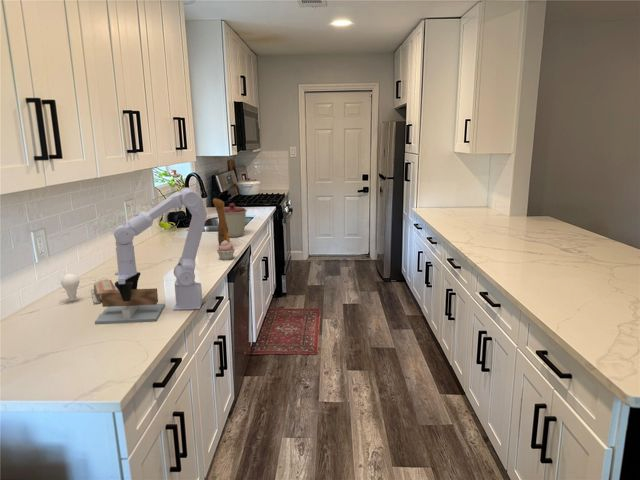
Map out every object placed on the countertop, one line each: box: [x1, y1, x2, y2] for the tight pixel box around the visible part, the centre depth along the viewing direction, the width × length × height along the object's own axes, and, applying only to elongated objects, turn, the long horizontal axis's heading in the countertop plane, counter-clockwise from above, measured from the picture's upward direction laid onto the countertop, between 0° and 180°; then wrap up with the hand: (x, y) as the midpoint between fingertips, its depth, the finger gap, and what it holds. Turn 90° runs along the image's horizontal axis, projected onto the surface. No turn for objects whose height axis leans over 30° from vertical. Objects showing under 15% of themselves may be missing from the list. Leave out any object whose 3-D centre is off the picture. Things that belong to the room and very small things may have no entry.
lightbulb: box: [60, 273, 80, 302], centre depth 167 cm, size 6×6×11 cm
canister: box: [224, 202, 248, 238], centre depth 276 cm, size 18×18×21 cm
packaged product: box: [90, 278, 118, 306], centre depth 174 cm, size 18×5×10 cm
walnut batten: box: [101, 287, 159, 308], centre depth 154 cm, size 18×3×5 cm, turn 98°
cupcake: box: [216, 240, 236, 261], centre depth 226 cm, size 9×9×10 cm
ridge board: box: [94, 303, 166, 325], centre depth 155 cm, size 20×14×4 cm
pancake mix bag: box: [212, 197, 231, 247], centre depth 247 cm, size 7×19×28 cm, turn 22°
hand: (129, 296), depth 154 cm, fingers open, 7 cm apart
